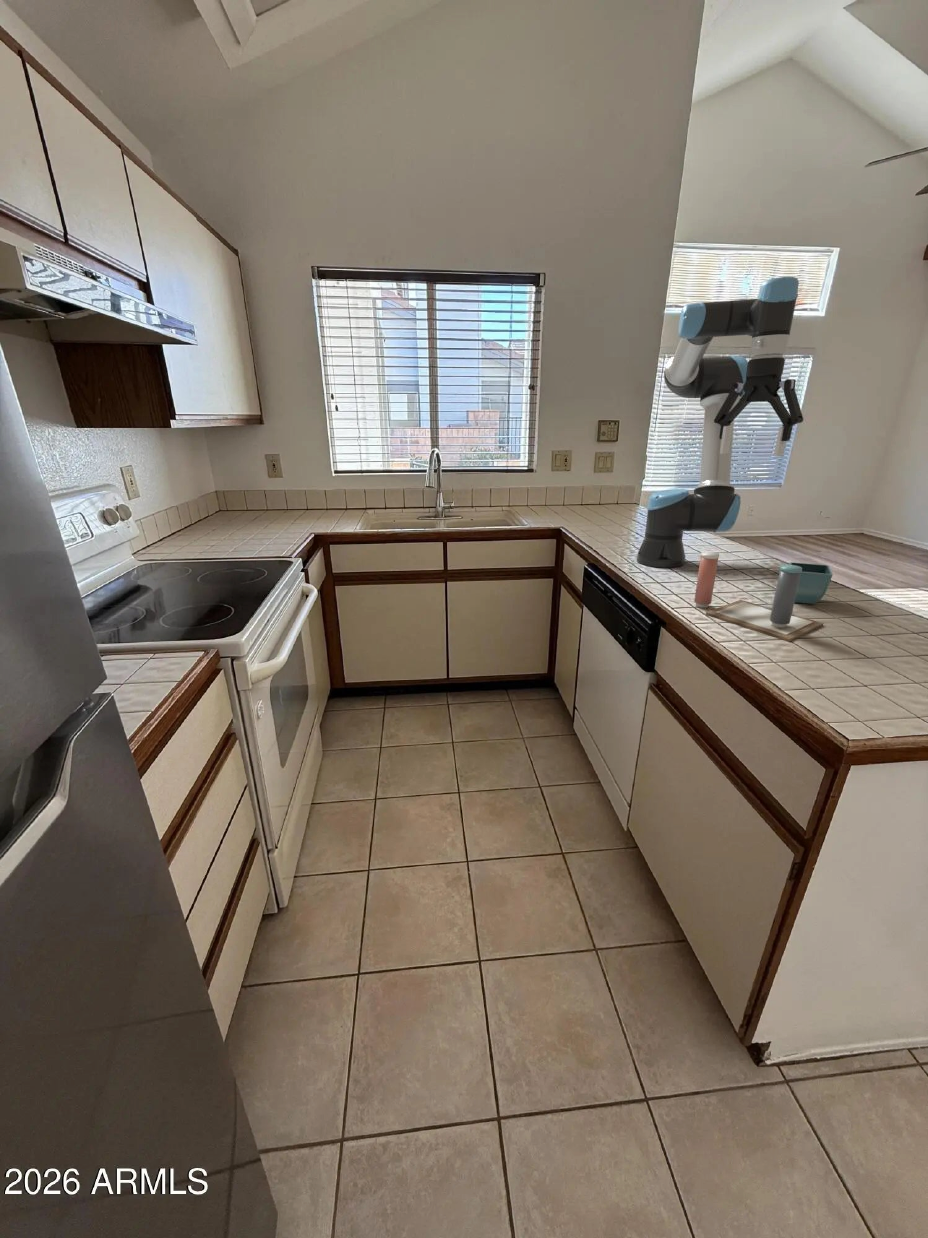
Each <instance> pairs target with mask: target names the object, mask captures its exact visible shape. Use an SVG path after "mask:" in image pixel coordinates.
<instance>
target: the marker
mask: <svg viewBox="0 0 928 1238" xmlns="http://www.w3.org/2000/svg"><path fill="white" fill-rule="evenodd" d="M801 572H802V567H800V566H796V565H789V564H781V565H780V566H779V573H778V577H777V584H776V588H775V593H774V596H773V602H772V611H771V616H770V621H771V622H772V623H771V626H773V627H776V628H786V626H787V624H789V623H790V620H791V615H792V614H793V613H792V611H793V612H794V605H795V603H796V602H795V598H796V593H797V589H798V584H799V580H800V575H801Z"/></svg>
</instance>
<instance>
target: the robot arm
mask: <svg viewBox="0 0 928 1238" xmlns="http://www.w3.org/2000/svg"><path fill="white" fill-rule="evenodd" d="M799 282H800V281H799V279H798V278H797V277H796V276H781V277H773V278H769V279H767V280H765V281H763V282H762V283H761V284H760V287H759V292H758V294H757V298H748V299H736V300H724V301H722V300H721V301H708V302H705V301H704V302H702V301H699V302H694V303H689V304H685V305H684V306H683V307H682V309H681V313H680V316H679V322H678V335H679V337H680V340H679V342H678V345H677V348H676V350H675V352H674V355H673V356H672V357H671V358H670V359H669V361H668V362H667V363H666V366H665V368H664V372H663V379H664V383H665V385H666V387H667V388H668V389H669V391H671V393H674V395H677V396H678V397H680V398H685V399H700V401H699V405H700V407H701V408H703V409H704V417H703V419H704V420H703V430H702V444H701V445H702V447H701V461H700V462H701V463H700V473H699V474H700V475H699V484H698V485H697V486H696V487H695V488H694V489H693V493H692V494H691V493H690V492H689V489H685V488H680V489H679V488H675V489H674V488H670V489H665V490H658V491H655V492H653V493H652V494H650V496H649V498H648V504H647V507H646V509H647V513H646V522H645V532H644V537H643V540H642V543H641V545H640V547H639V550H638V552H637V553H636V554H637V555H636V561H637V563H639V564H641V565H643V566H644V565H645V566H647V567H653V568H679V567H681V566H684V565H685V563H686V553H685V548H684V542H683V536H684V532H704V533H705V532H708V533H709V532H712V533H717V532H718V533H719V532H723V533H725V532H729V531H730V530H732V528H733V527H734V526H735V523H736V521H737V519H738V516H739V513H740V507H741V504H742V503H741V495H740V494H738V493H735V491H736V490H735V488H736V487H735V486H734V485H733V484H731V469H732V467H731V466H732V457H733V455H732V454H733V440H734V439H733V437H734V425H735V419H736V418H737V417H738V416H739V415H740V414H741V412H742V411H743V410H744V409H745V408H746V407H747V406H748V405H749V404H750V403H758V402H767V403H768V404H770V406H771V407H772V409H773V410H774V412H775V414H776V415H777V417H778V418H779V420H780V422H781V423H782V425H781V426H778V431H777V436H776V442H775V447H774V452H773V457H782V456H784V452H785V448H786V442H789V441H790V440H791V437H792V433H793V432H792V431H793V427H794V426H795V425H798V424H801V423H803V422H804V416H803V413H802V410H801V406H800V403H799V402H800V401H799V400H798V396H797V393H796V383H797V382H796V379H794V378H791V379H790V378H787V379H785V380H782V376H783V373H784V367H785V362H786V359H785V357H784V356H785V355H787V352H788V348H789V347H788V346H789V341H790V333H791V328H792V324H793V320H794V314H795V310H796V309H795V308H796V305H797V299H798V296H799V294H798V292H799V284H800V283H799ZM731 336H732V337H733V336H749V337H751V341H750V348H749V354H748V356H749V357H750V358H751V359H749V360H747V359H746V358H745V357H744V356H741V355H740V356H737V355H736V356H735V355H727V356H712V357H704V355H705V353H706V351H708V349H709V346H710V344H711V342H712V340H713V338H716V337H719V338H720V337H731ZM780 389H781V390H782V391H783V395H784V398H785V401H786V405H787V407H786V406H785V405H784V402H782V400H781V396H780V395H779V393H778V392H779V390H780ZM787 408H788V409H787Z"/></svg>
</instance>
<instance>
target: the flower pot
mask: <svg viewBox="0 0 928 1238" xmlns="http://www.w3.org/2000/svg"><path fill="white" fill-rule="evenodd" d="M788 565H796V566H800V567H802V572H801V575H800V580H799V584H798V589H797V593H796V598H795V602H794V603H801V604H809V605H817V603H819V602H820V600H821V599H822V598H823V597H824V596H825V595H826V593H827V591H828V588H829V585H830V583H831V580H832V577H833V571H832V569H831V568H830V565H829V564H819V563H807V562H806V563H805V562H794V561H793V562H792V561H791V562H789V564H788Z"/></svg>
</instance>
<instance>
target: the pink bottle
mask: <svg viewBox="0 0 928 1238" xmlns="http://www.w3.org/2000/svg"><path fill="white" fill-rule="evenodd" d="M719 558H720V554H719V553H718V552H715V551H702V552H700V560H699V568H698V575H697V579H696V586H695V594H694V603H695V607H696V608H698V609H699V608H700V609H707V608H709V605H711V604H712V600H713V593H714V587H715V582H716V575H717V568H718V563H719Z"/></svg>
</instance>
